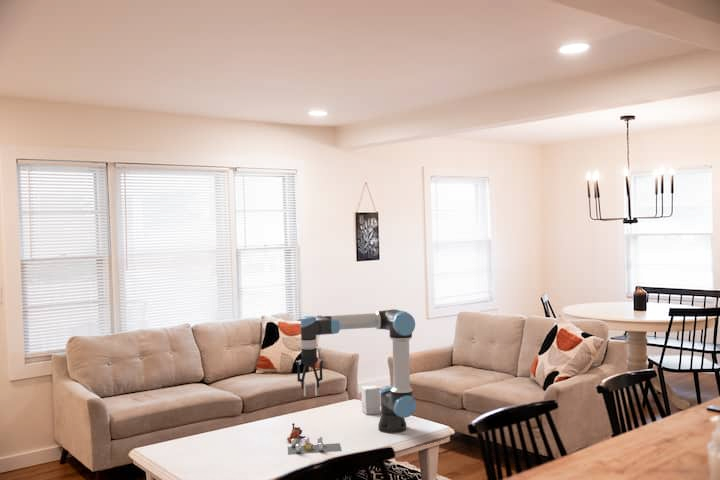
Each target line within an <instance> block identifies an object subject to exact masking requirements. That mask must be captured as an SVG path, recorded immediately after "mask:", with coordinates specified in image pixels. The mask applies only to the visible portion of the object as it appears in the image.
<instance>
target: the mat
mask: <svg viewBox="0 0 720 480" xmlns="http://www.w3.org/2000/svg"><path fill="white" fill-rule="evenodd" d="M323 449H324V451H323V452H319V448H318V444H313V449H312V450H309V451H306V450H304V445H301V453H300V454H299V455H304V454H306V455H307V454H319V453H320V454H321V453H331V452H332V453H333V452H334V453H335V452H342V451H343V450H342V446H341V443H323ZM287 455H289V456H290V455H291V456H292V455H297V454H296V448H292V447H291V446H287Z"/></svg>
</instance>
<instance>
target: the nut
mask: <svg viewBox="0 0 720 480" xmlns="http://www.w3.org/2000/svg"><path fill="white" fill-rule="evenodd" d="M313 445H314V444H313V443H312V442H309V443H305V442H304V444H303V446H304V450H306V451H309V450H312V449H313Z"/></svg>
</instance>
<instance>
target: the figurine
mask: <svg viewBox="0 0 720 480" xmlns="http://www.w3.org/2000/svg"><path fill="white" fill-rule="evenodd" d="M302 433H303V429H301V427H299V426H298V427H296V426H295V423H292V429H291V432H290V434H289V436H288V437H287V438H286V440H287V442H289V443H291V439H296V440H297V439H298V438H301V439H304V438H306V436H301V434H302Z"/></svg>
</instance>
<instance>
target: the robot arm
mask: <svg viewBox="0 0 720 480" xmlns="http://www.w3.org/2000/svg"><path fill="white" fill-rule="evenodd" d="M299 327H300V338H301V339H300V345H301V350H300V351H301V352H300V353H301V358H300V359H299V360H295V365H296V367H297V371H296V373H297V375H296V376H297V382H300V384H301V386H300V387H301V390H303V396H304V397H306V396H307V395H306V393H307V392H306V381H305V378H306V373H307V369H308V368H312V370H313V374H314V376H315V380H314V394H315V396H318V389H319V388H320V382H321V381H323V378H324V377H323V363H324V360H323V359H319V358H318V354H317V353H318V351H317V350H318V349H317V336H321V335H324V336H325V335H336V334H339V332H340V331H342V330H356V329H360V330H361V329H376V330H386V331H389V339H390V340H391V341H392V382H393V383H392V384H391V385H386V386H382V387H381V388H380V414H381V415H380V418H379V420H378V424H377V425H378V428H377V429H378V431H380V432H381V433H387V434H391V433H392V434H395V433H396V434H397V433H401V432H405V431H406V430H407V427H408V425H407V421H406V419H405V418H409V417H410V416H412V415H413V414H414V413H415V411H416V410H417V409H416V408H417V402H416V400H415V398H414V394H413V393H414V390H413V388H412V387H411V383H410V382H411V381H410V380H411V379H410V375H411V373H410V370H411V369H410V340H411V339H412V338H413V332H414V331H415V328H416V320H415V318H414V316H412V315H411V314H410V313H409V312H407V311H404V310H399V309H394V308H393V309H386V310H377V311H374V313H357V314H341V315H340V314H339V315H338V314H337V315H316V316H314V315H310V316H309V315H307V316H306V315H305V316H302V317H300V326H299ZM317 363H318V364H319V366H318V368H319V376H318V372H317V369H316V365H317ZM300 365H303V371H302V375H301V366H300Z"/></svg>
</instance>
